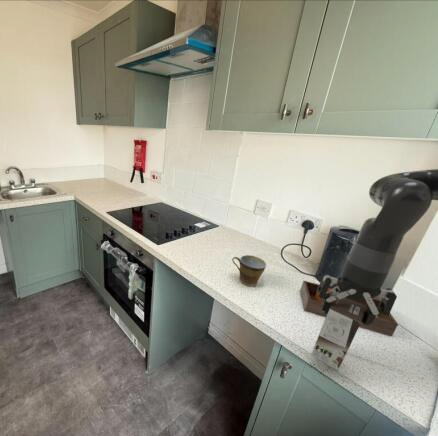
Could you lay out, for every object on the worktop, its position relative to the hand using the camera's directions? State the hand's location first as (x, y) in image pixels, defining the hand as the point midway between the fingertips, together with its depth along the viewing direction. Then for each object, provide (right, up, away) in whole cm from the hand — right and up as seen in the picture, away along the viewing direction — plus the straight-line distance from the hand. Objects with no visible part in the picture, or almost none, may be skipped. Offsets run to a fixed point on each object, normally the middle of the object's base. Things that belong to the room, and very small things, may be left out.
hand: (344, 317), depth 62 cm
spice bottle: (+14, -7, +27) cm, 32 cm away
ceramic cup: (-9, -1, +41) cm, 42 cm away
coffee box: (0, -12, +5) cm, 13 cm away
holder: (+19, -9, +26) cm, 33 cm away
